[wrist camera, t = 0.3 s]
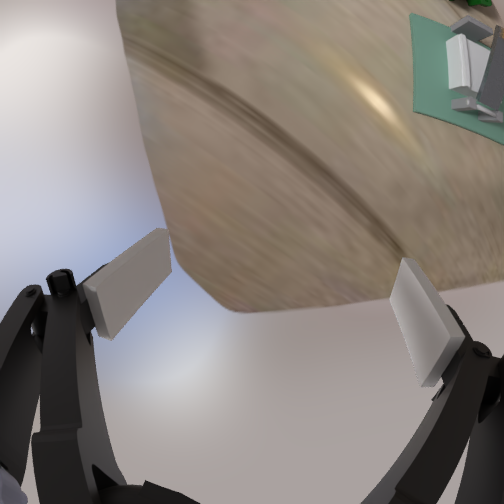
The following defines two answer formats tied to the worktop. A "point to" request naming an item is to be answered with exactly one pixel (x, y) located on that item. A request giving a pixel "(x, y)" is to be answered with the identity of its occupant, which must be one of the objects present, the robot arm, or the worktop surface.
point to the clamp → (479, 2)
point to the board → (438, 80)
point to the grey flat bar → (494, 73)
